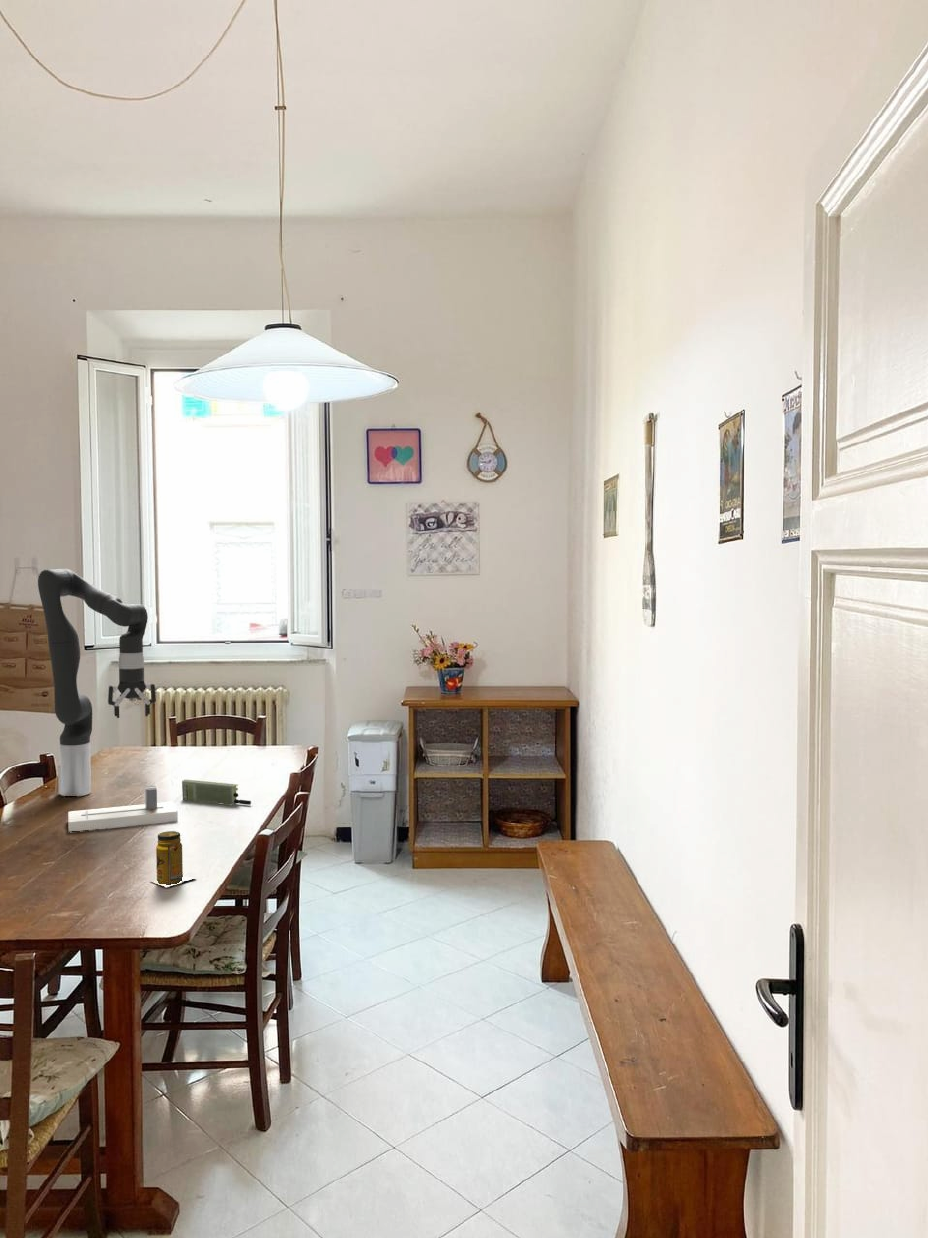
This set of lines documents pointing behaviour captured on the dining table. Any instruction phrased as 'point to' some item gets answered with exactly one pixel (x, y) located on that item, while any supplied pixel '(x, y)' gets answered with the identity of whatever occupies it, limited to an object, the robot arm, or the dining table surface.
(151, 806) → the block
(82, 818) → the console
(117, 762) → the dining table surface
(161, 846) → the condiment
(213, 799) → the handheld radio
